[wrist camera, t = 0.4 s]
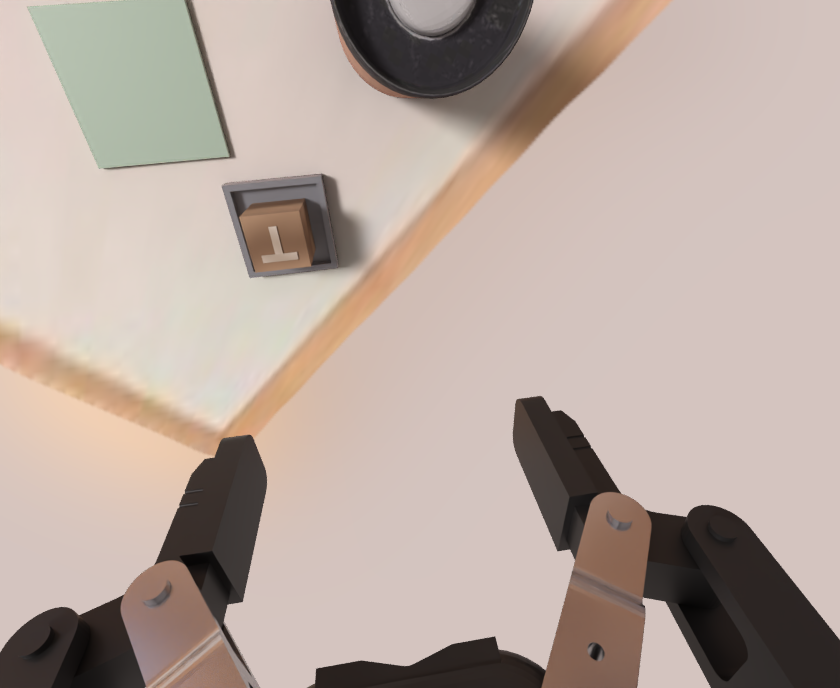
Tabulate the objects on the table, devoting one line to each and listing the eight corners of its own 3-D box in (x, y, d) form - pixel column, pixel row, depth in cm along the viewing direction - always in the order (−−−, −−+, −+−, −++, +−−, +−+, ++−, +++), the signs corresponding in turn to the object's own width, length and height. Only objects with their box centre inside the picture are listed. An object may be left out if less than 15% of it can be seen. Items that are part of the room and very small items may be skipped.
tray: (225, 183, 35) (221, 185, 34) (321, 173, 35) (321, 176, 34) (252, 272, 39) (249, 277, 38) (338, 263, 40) (337, 267, 39)
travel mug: (361, 109, 33) (366, 128, 16) (324, -12, 29) (280, -151, 12) (453, 79, 33) (554, 66, 16) (428, -47, 29) (529, -240, 12)
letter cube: (251, 203, 36) (238, 217, 32) (305, 198, 36) (298, 211, 32) (266, 255, 38) (255, 274, 34) (315, 250, 38) (311, 267, 34)
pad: (31, 7, 28) (27, 6, 28) (185, -3, 29) (183, -4, 28) (101, 167, 33) (98, 168, 33) (230, 155, 34) (229, 156, 34)
